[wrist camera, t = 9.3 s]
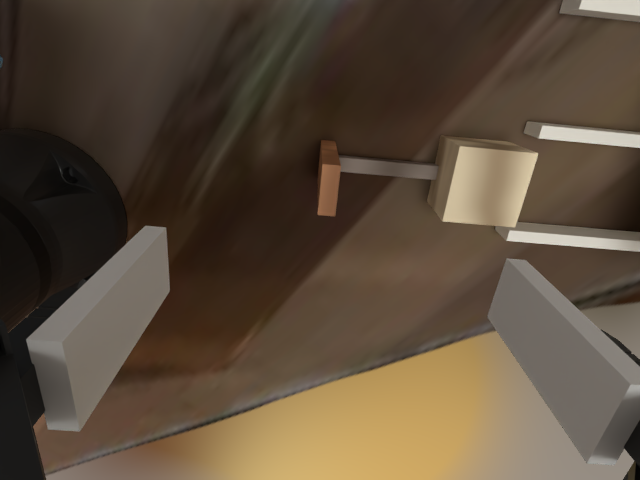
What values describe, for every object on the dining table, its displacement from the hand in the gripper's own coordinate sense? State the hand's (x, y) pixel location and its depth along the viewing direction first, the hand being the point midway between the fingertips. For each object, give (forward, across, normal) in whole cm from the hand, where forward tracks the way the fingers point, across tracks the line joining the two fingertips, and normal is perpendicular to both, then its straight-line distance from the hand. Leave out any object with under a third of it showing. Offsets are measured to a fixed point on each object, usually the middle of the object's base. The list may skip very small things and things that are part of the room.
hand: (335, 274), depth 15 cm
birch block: (+21, +8, 0) cm, 22 cm away
